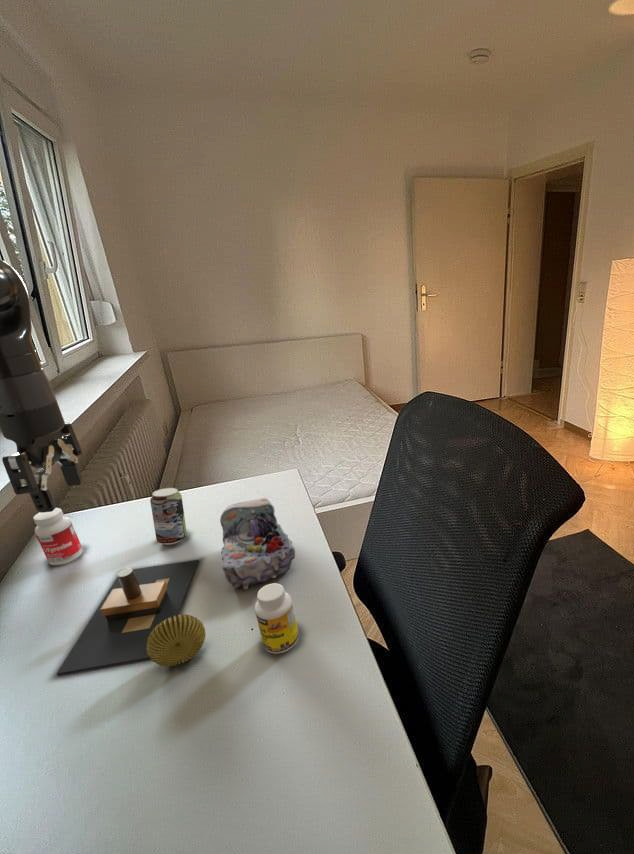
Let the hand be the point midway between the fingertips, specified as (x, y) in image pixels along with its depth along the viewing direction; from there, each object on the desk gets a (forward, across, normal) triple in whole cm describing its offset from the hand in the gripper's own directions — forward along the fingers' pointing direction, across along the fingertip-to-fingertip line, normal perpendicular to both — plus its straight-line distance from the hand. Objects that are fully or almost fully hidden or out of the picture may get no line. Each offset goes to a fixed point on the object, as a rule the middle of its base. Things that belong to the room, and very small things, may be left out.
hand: (62, 497), depth 72 cm
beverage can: (+23, -19, +7) cm, 30 cm away
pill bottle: (+23, -18, -15) cm, 33 cm away
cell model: (+22, -6, +26) cm, 35 cm away
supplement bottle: (+22, +16, +33) cm, 43 cm away
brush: (+22, +3, +7) cm, 23 cm away
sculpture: (+22, +16, +18) cm, 33 cm away
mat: (+22, +3, +7) cm, 24 cm away
